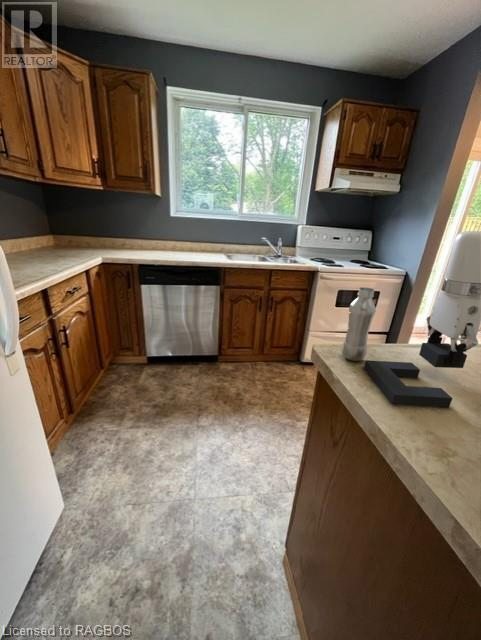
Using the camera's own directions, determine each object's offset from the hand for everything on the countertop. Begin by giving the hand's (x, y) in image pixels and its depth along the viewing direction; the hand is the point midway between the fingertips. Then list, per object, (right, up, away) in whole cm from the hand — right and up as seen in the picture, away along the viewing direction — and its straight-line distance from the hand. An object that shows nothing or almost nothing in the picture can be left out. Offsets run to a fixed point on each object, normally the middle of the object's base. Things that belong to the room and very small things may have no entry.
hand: (441, 357), depth 68 cm
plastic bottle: (-19, -2, +9) cm, 21 cm away
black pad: (0, -1, 0) cm, 1 cm away
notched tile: (-12, -6, -4) cm, 14 cm away
